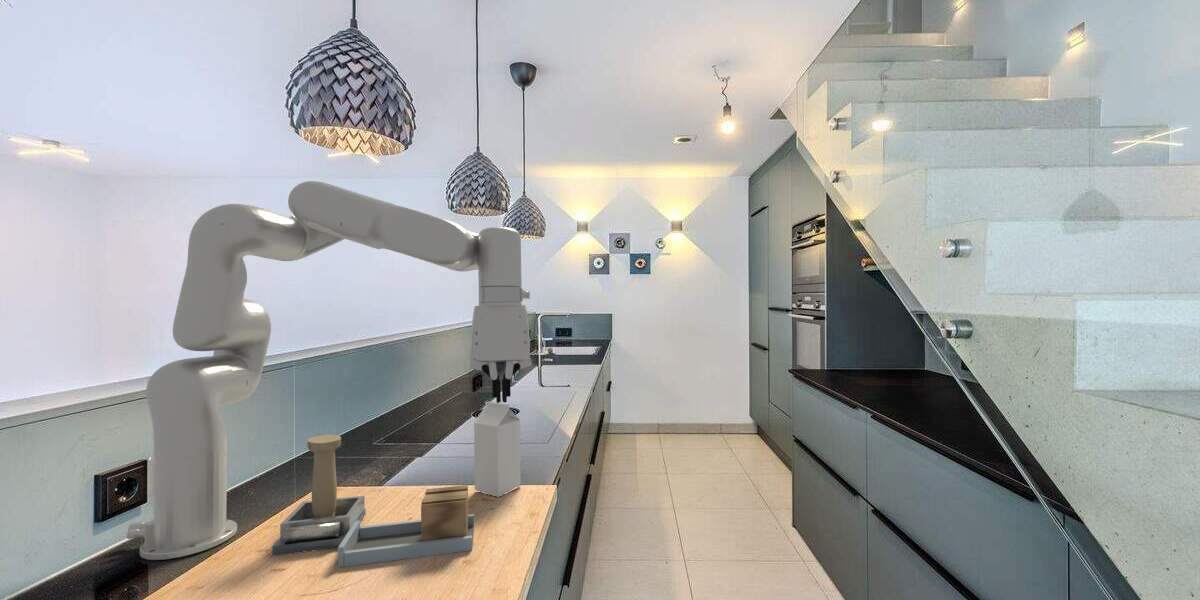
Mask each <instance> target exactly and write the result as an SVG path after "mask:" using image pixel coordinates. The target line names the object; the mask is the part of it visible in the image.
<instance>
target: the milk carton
mask: <svg viewBox="0 0 1200 600" xmlns="http://www.w3.org/2000/svg"><path fill="white" fill-rule="evenodd" d="M484 403H485V405H484V408H483V409H482V410H481V412H480V413H479V415H478V416H477V418H476V419H475V421H474V422H473V423H474V424H473V429H474V430H473V432H474V433H473V434H474V435H473V438H474V439H473V441H474V442H473V443H474V445H473V446H474V447H473V448H474V452H473V453H474V454H473V455H474V457H473V458H474V461H473V462H474V491H475V490H477V491H480V492H484V493H487V494H490V495H494V496H497V497H499V496H501V495H503V494H504V493H506V492H509V491H510V490H512V489H514V488H515V487H519V486H521V487H522V471H521V469H522V467H521V466H522V465H521V464H522V463H521V459H522V457H521V456H522V455H521V419H520V418H519V417H518V416H517V415H516V414H515V413H514V412H513V411H512V410H511V409H510V404H509V403H504V402H502V403H501V402H500V403H497V402H494V401H493V402H492V401H485V402H484ZM519 488H520V487H519ZM509 493H510V492H509ZM503 496H504V495H503ZM497 497H496V498H497ZM501 497H502V496H501ZM499 498H500V497H499Z"/></svg>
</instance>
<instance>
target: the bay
mask: <svg viewBox="0 0 1200 600" xmlns="http://www.w3.org/2000/svg"><path fill="white" fill-rule="evenodd" d="M474 531H475V513H471V514H470V513H468V532H467V536H464V537H456V538H448V539H439V540H431V541H423V542H421V519H416V520H407V521H399V522H390V523H382V524H381V523H380V524H373V525H372V524H371V525H370V524H369V525H362V526H361V525H360V521H355V523H354V524H353V526H352V527H351V529H350V530H349V532H348V533H347V535H346V536H345V538H344V539H343V541H342V542H341V544H340V545H339V547H338V548H337V568H343V567H351V566H352V567H353V566H360V565H367V564H369V565H370V564H376V563H383V562H391V561H399V560H406V559H413V558H420V557H421V558H422V557H429V556H430V557H431V556H438V555H439V556H440V555H445V554H446V555H447V554H452V553H462V552H469V551H473V544H474Z"/></svg>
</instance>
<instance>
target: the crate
mask: <svg viewBox="0 0 1200 600" xmlns="http://www.w3.org/2000/svg"><path fill="white" fill-rule="evenodd" d="M424 494H425V495H424V497H423V499H422V500H421V505H420V517H421V518H420V520H421V542H423V541H431V540H439V539H448V538H456V537H464V536H467V532H468V514H469V485H468V484H465V485H455V486H446V487H445V486H444V487H436V488H426V490H425V491H424Z"/></svg>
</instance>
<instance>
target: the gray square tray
mask: <svg viewBox="0 0 1200 600" xmlns="http://www.w3.org/2000/svg"><path fill="white" fill-rule="evenodd" d="M365 502H366V500H365V495H359V496H358V495H357V496H347V497H337V501H336V509H335V517H325V518H316V519H314V518H315V516H314V515H313V509H312V500H305V501H302V502H301V503H300V504H299V505H298V506H297V507H296V508H295V509H294V510H293V511H292V512H291V513H290V514H289V515H288V516H287V517H286V518H285V519H284V520H283V521H282V522H281V523H279V539H277V541H276V542H275V543H274V544H273V545H272V546H271V556H272V557H273V555H275V556H281V554H283V555H289V553H291V554H296V553H295V552H300V553H304V552H303V551H308V552H313V551H312V550H316V551H322V550H321V549H325V550H330V549H332V548H333V549H338V547H339V545H340V544H341V542H342V541H343V539H344V538H345V536H346V535H347V533H348V532H349V530H350V529H351V527H352V526H353V524H354V523H355V521H360V523H361V521H362V520H363V518H364V516H365V515H367V514H366V513H367V512H366V509H367V508H365V506H366V505H365ZM364 519H365V518H364ZM363 521H364V520H363ZM361 524H362V523H361Z"/></svg>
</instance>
